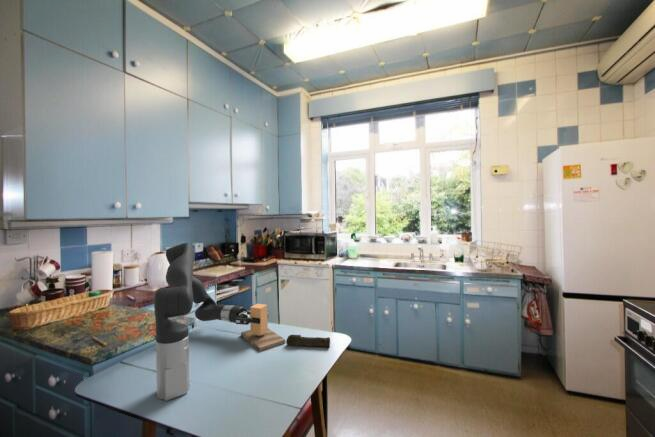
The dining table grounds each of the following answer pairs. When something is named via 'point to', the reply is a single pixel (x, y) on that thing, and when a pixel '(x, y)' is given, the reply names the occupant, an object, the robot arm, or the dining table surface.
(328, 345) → the dark brown rough bar
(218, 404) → the dining table surface
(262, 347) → the jig plate
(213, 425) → the dining table surface
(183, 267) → the robot arm
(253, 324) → the light orange rectangular block
